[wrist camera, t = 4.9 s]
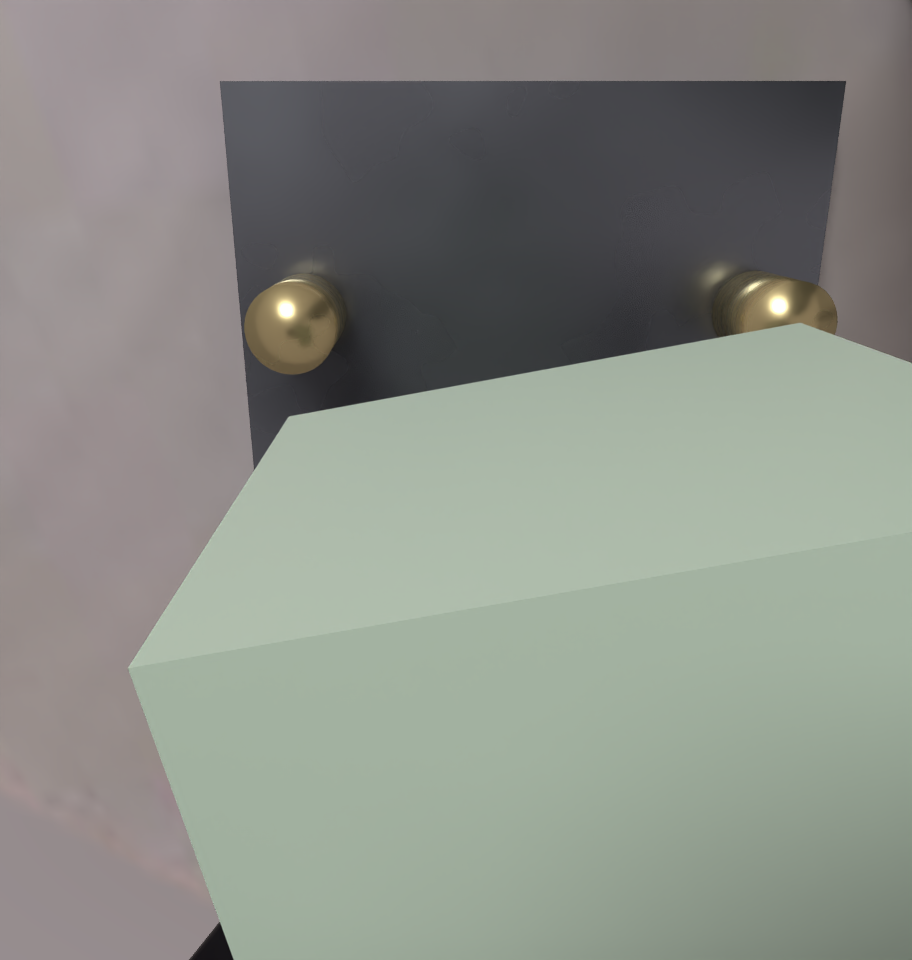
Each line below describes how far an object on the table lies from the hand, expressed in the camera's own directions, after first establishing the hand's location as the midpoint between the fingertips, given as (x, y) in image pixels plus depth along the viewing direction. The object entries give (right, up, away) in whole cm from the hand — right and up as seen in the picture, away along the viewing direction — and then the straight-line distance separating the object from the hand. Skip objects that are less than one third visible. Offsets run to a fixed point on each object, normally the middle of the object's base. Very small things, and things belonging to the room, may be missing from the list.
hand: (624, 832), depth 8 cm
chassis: (0, +3, +10) cm, 11 cm away
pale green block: (0, 0, +1) cm, 1 cm away
